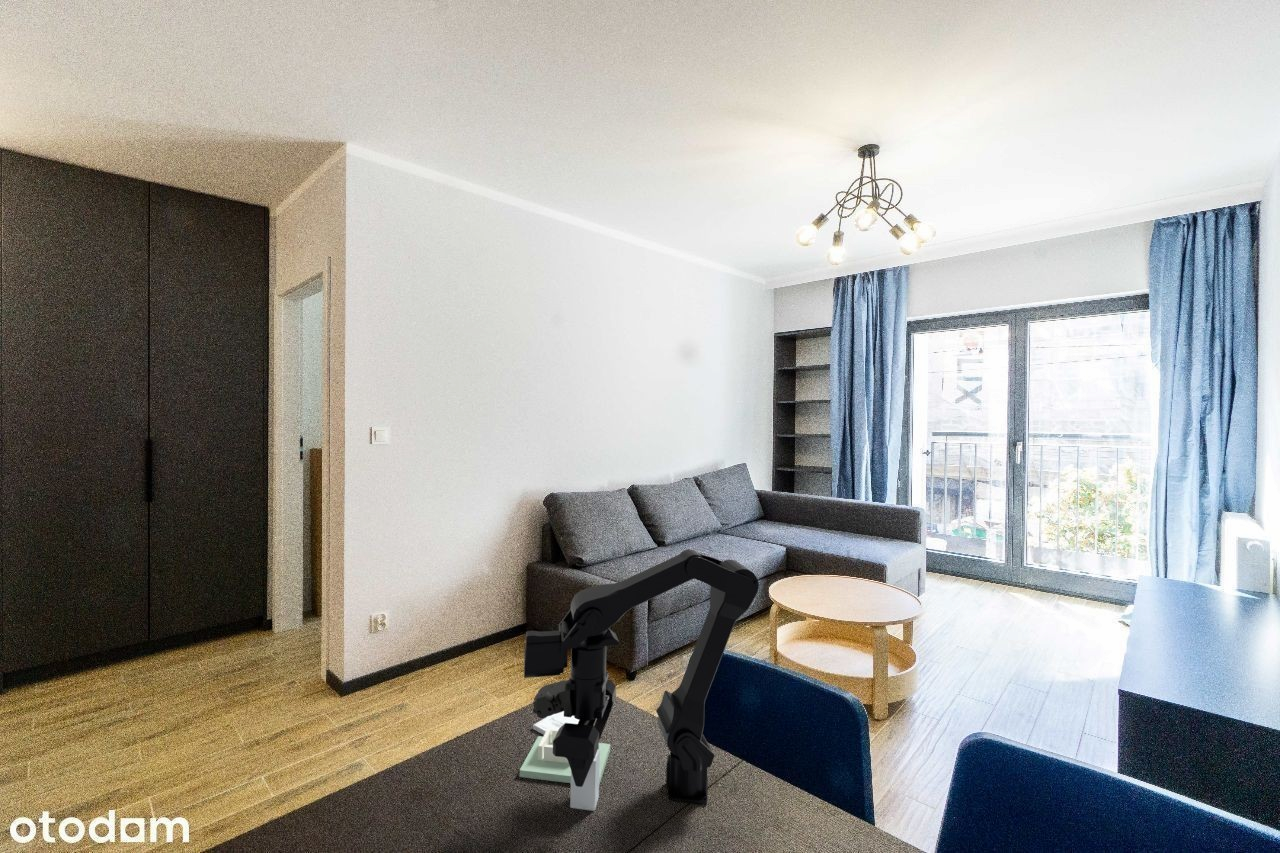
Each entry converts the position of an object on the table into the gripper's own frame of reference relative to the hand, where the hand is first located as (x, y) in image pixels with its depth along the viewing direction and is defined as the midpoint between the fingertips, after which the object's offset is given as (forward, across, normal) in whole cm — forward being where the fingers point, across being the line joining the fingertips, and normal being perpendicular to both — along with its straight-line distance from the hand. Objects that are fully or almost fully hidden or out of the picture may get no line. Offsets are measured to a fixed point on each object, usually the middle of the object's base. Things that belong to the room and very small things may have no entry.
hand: (586, 766), depth 87 cm
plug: (+6, 0, 0) cm, 6 cm away
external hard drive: (+7, -22, -9) cm, 24 cm away
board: (+6, -9, -6) cm, 12 cm away
